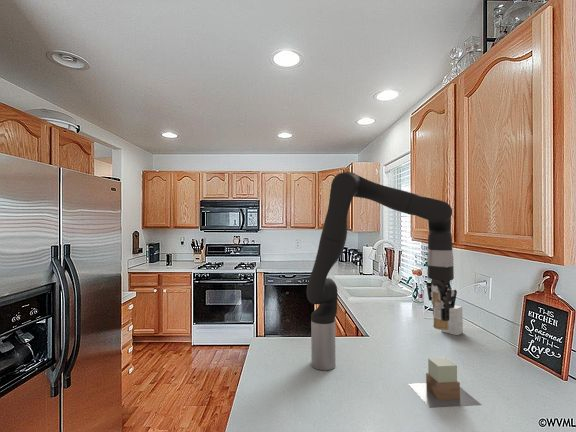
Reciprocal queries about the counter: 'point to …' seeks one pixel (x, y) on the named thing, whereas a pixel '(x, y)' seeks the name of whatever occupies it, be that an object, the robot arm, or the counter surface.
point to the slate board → (433, 402)
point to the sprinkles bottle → (438, 312)
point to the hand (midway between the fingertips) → (441, 317)
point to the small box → (455, 321)
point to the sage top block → (442, 370)
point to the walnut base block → (443, 389)
